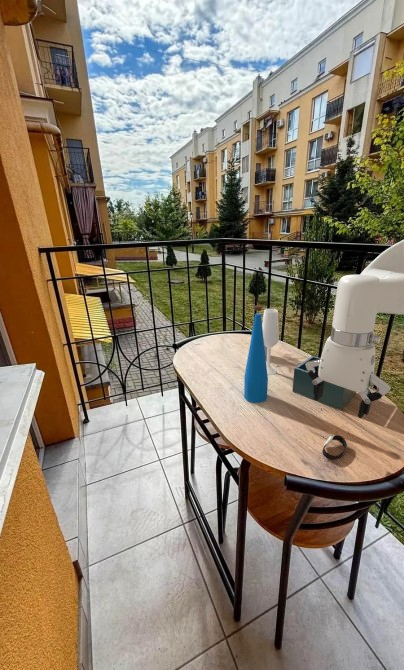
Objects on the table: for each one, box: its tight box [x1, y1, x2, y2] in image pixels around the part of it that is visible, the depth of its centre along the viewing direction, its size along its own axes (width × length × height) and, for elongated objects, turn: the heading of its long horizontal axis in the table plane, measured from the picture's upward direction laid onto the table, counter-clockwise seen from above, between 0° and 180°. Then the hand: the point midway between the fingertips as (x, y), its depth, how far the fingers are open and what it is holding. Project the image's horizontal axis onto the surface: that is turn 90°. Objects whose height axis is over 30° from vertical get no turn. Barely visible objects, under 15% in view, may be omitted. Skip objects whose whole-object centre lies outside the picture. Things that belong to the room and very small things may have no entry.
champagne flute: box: [262, 308, 280, 376], centre depth 104 cm, size 7×7×24 cm
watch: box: [321, 434, 348, 461], centre depth 67 cm, size 8×5×4 cm, turn 131°
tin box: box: [291, 355, 357, 411], centre depth 91 cm, size 16×13×9 cm
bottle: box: [243, 304, 269, 404], centre depth 86 cm, size 7×7×30 cm
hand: (338, 406), depth 64 cm, fingers open, 9 cm apart
